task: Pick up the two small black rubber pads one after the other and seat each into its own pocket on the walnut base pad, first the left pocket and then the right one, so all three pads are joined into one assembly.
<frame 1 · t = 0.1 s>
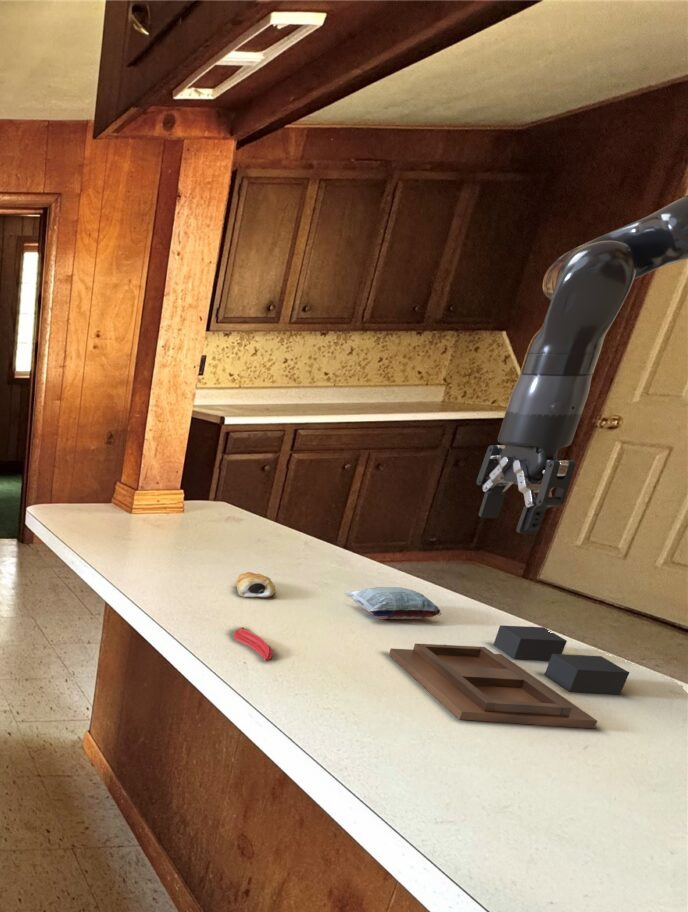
hand: (506, 525, 95), 21 cm above the countertop, tool pointing down, fingers open, 8 cm apart
pastry: (252, 592, 131), on the countertop
black pad 2: (525, 652, 103), on the countertop
cayenne pepper: (251, 645, 109), on the countertop
black pad 1: (580, 684, 94), on the countertop
base pad: (480, 688, 94), on the countertop
packaged food: (387, 615, 119), on the countertop
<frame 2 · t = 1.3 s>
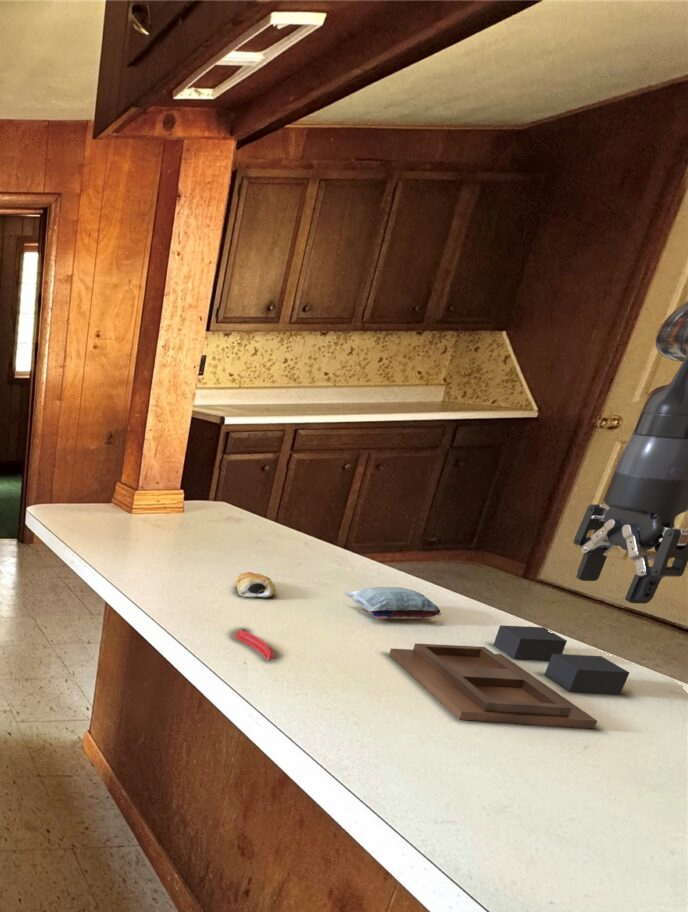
hand: (609, 590, 89), 14 cm above the countertop, tool pointing down, fingers open, 8 cm apart
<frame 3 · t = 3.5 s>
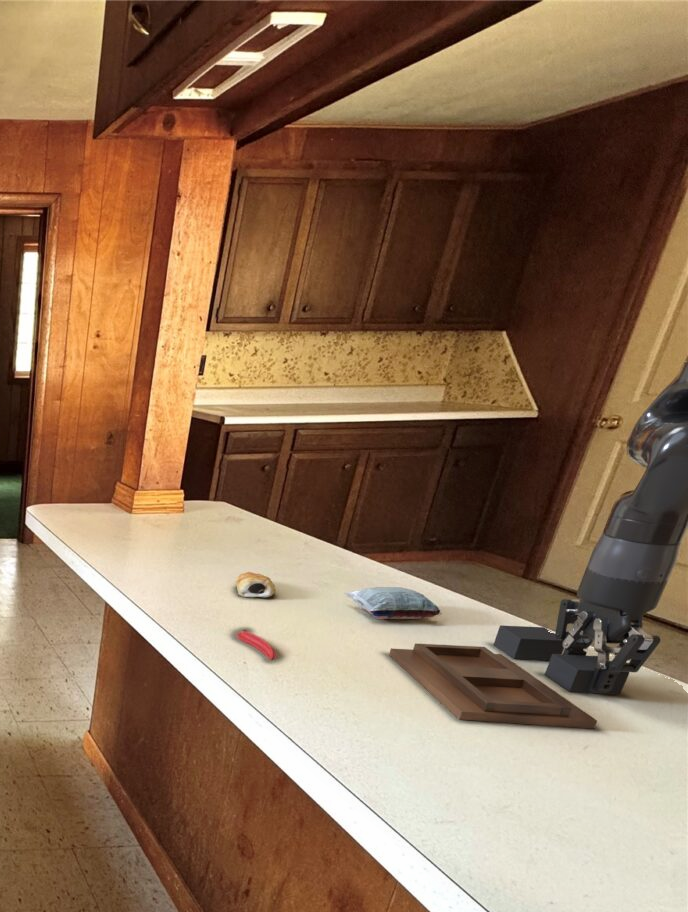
hand: (581, 681, 94), 0 cm above the countertop, tool pointing down, fingers closed on black pad 1, 5 cm apart
black pad 1: (581, 684, 94), on the countertop, touching gripper
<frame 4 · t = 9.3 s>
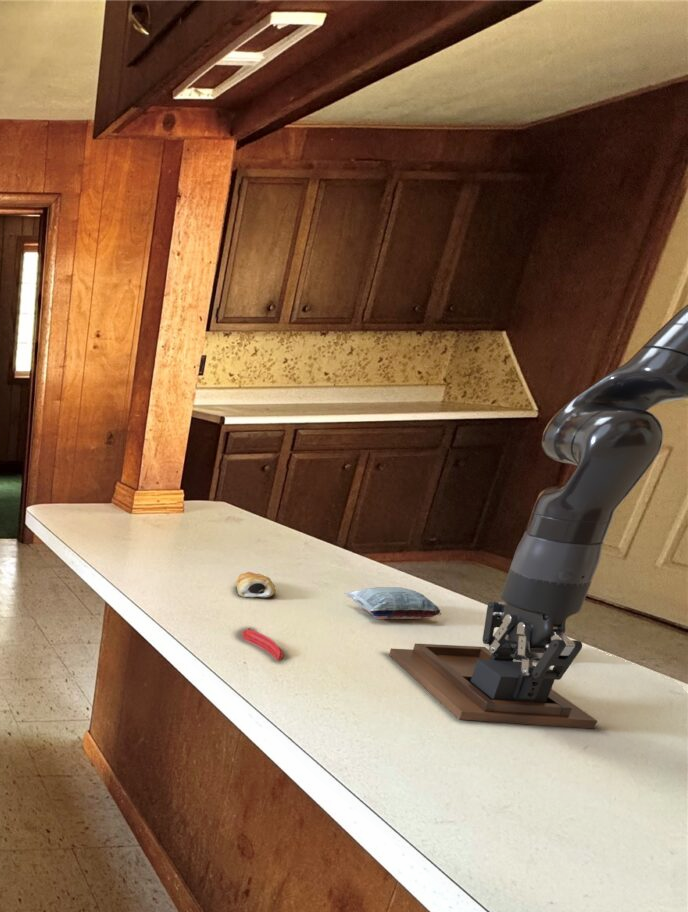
hand: (507, 689, 89), 3 cm above the countertop, tool pointing down, fingers closed on black pad 1, 5 cm apart
black pad 1: (506, 692, 89), point 2 cm above the countertop, touching gripper
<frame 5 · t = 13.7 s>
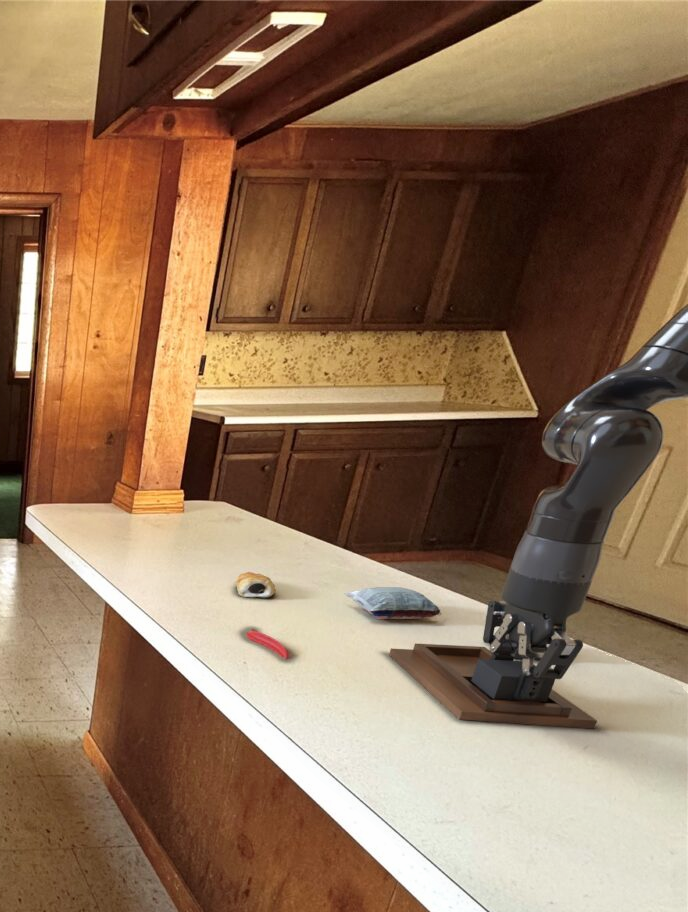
hand: (508, 688, 89), 3 cm above the countertop, tool pointing down, fingers closed on black pad 1, 5 cm apart
black pad 1: (507, 691, 89), point 2 cm above the countertop, touching gripper
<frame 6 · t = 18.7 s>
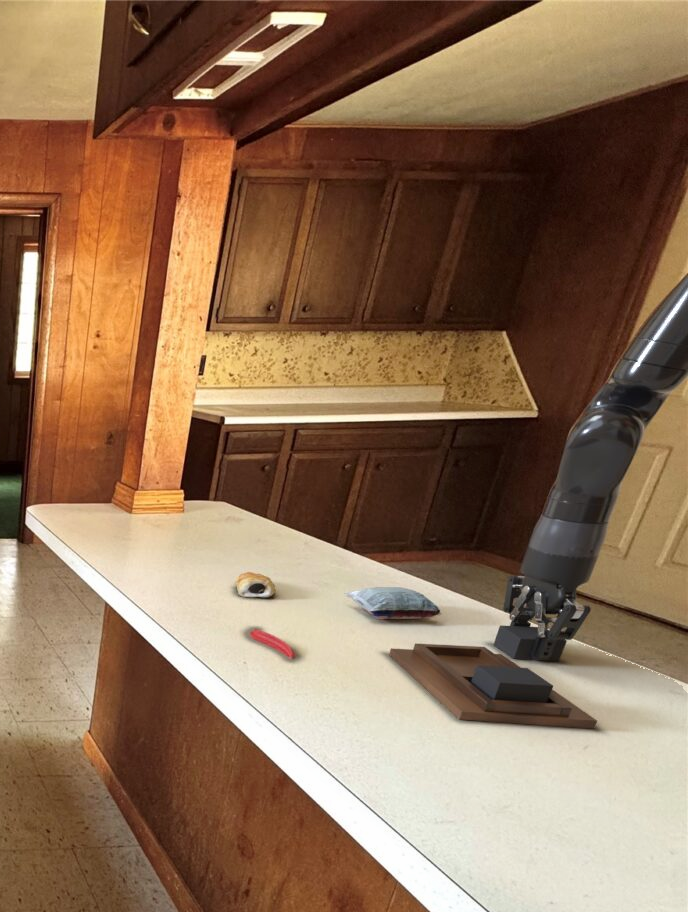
hand: (525, 650, 103), 0 cm above the countertop, tool pointing down, fingers closed on black pad 2, 5 cm apart
black pad 2: (525, 652, 103), on the countertop, touching gripper
black pad 1: (505, 697, 89), point 1 cm above the countertop, touching base pad
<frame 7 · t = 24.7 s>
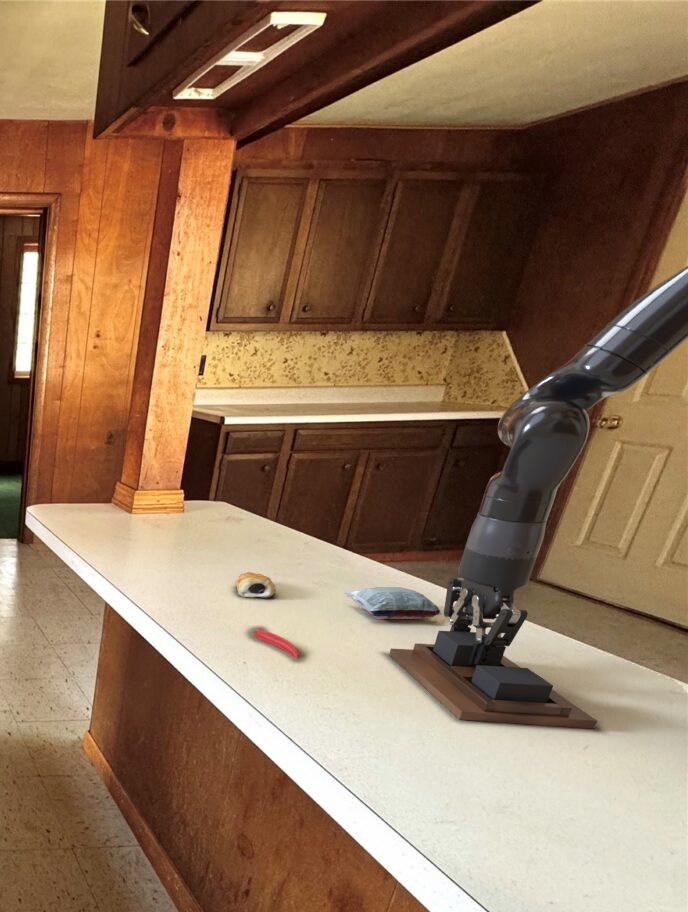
hand: (465, 657, 98), 3 cm above the countertop, tool pointing down, fingers closed on black pad 2, 5 cm apart
black pad 2: (464, 659, 98), point 2 cm above the countertop, touching gripper
when the fingers open (3 cm above the countertop, at t = 29.2 s): black pad 2 drops 1 cm, resting on base pad.
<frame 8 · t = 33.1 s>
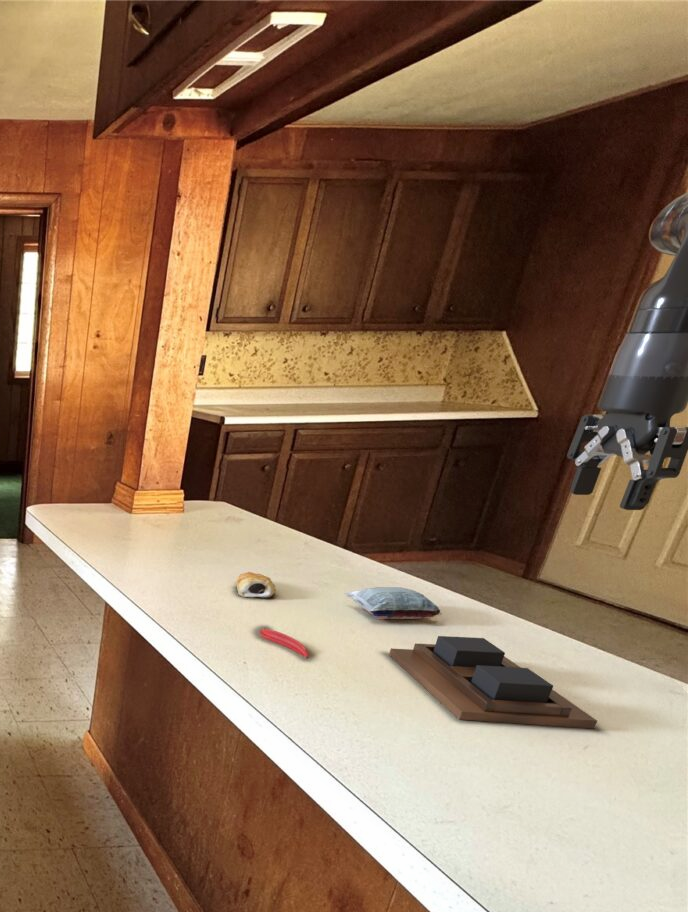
hand: (604, 501, 87), 26 cm above the countertop, tool pointing down, fingers open, 8 cm apart
black pad 2: (463, 665, 98), point 1 cm above the countertop, touching base pad
cayenne pepper: (281, 645, 110), on the countertop
everything else where it was.
at the end: black pad 1 0.1 cm from the target spot on the base pad, point 1.2 cm above the base pad's base; black pad 2 0.1 cm from the target spot on the base pad, point 1.2 cm above the base pad's base; black pad 2 tilted 0° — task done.
